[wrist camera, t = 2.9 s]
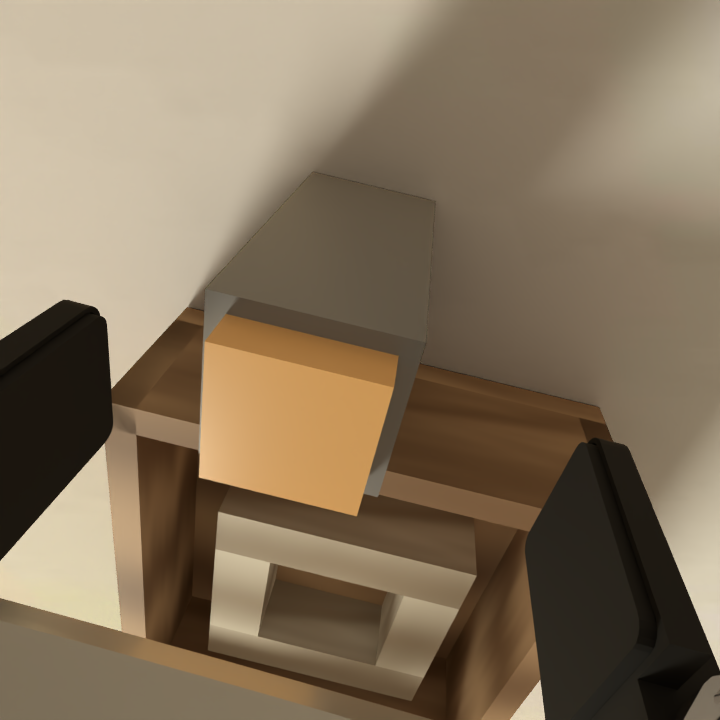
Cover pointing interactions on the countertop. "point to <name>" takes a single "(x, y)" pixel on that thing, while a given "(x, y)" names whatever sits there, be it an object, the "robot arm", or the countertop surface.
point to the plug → (316, 344)
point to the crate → (345, 542)
